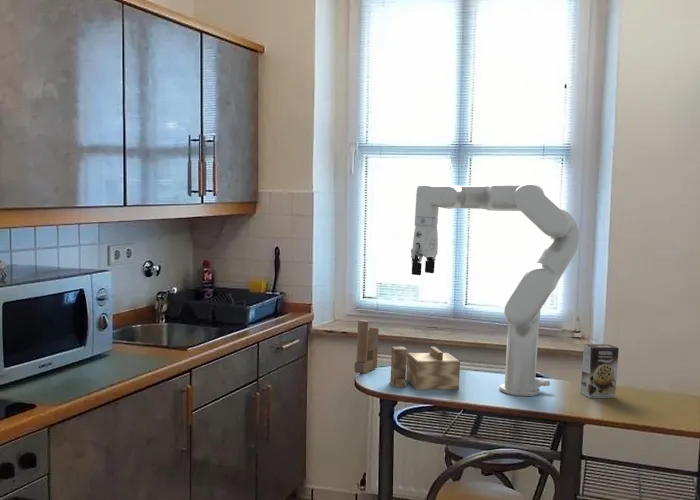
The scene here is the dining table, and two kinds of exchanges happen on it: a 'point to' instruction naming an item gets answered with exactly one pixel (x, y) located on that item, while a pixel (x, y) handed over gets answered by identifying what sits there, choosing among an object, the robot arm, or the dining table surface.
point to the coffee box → (599, 370)
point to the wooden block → (366, 347)
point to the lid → (432, 356)
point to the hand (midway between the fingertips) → (422, 273)
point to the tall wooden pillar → (398, 364)
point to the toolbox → (431, 374)
